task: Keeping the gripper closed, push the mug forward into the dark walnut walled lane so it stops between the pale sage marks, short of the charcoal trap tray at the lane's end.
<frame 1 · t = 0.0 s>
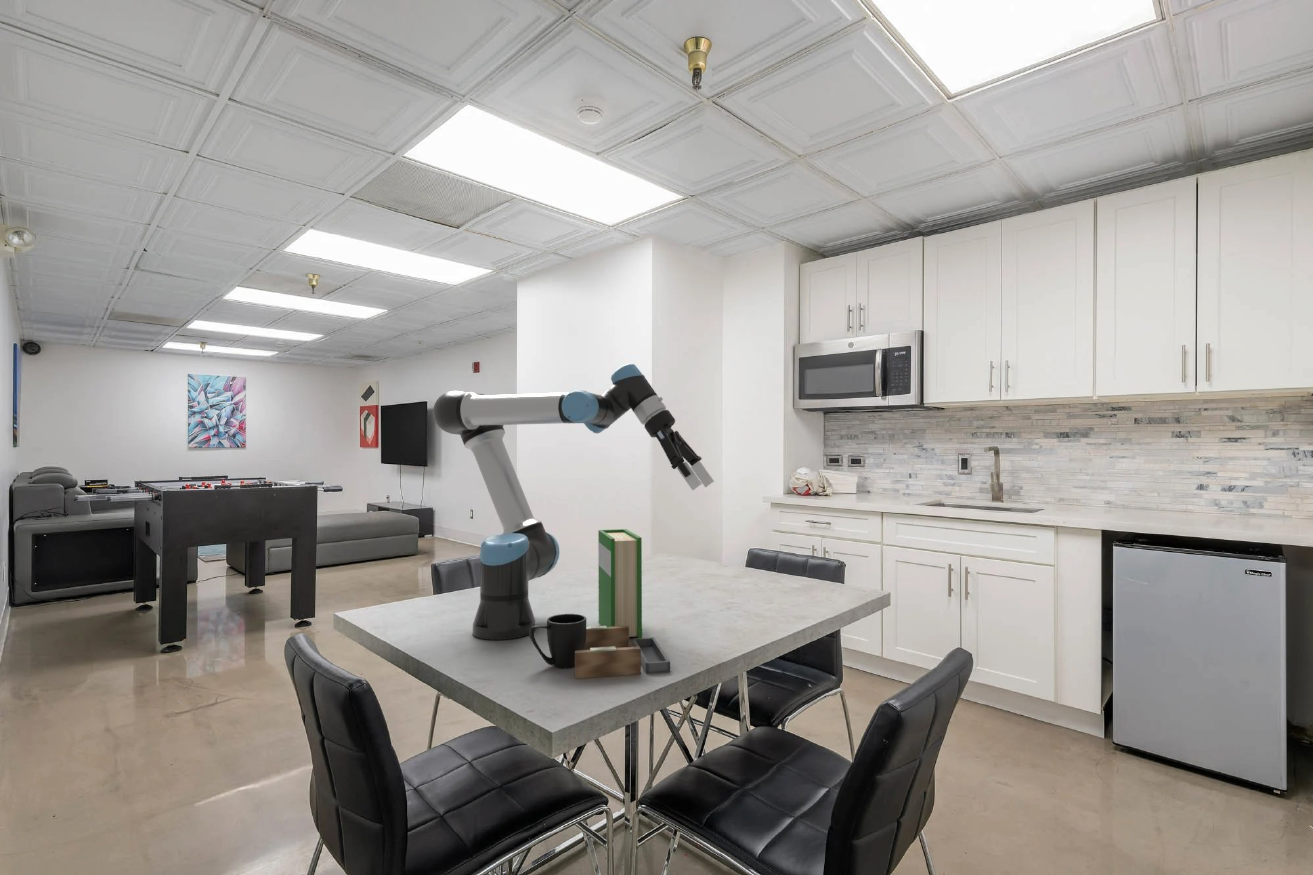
hand: (704, 485, 154), 36 cm above the table, tool tilted 35°, fingers open, 13 cm apart
trap tray: (650, 658, 133), on the table
hardback book: (619, 631, 155), on the table
lane walls: (603, 662, 131), on the table
mug: (558, 666, 130), on the table
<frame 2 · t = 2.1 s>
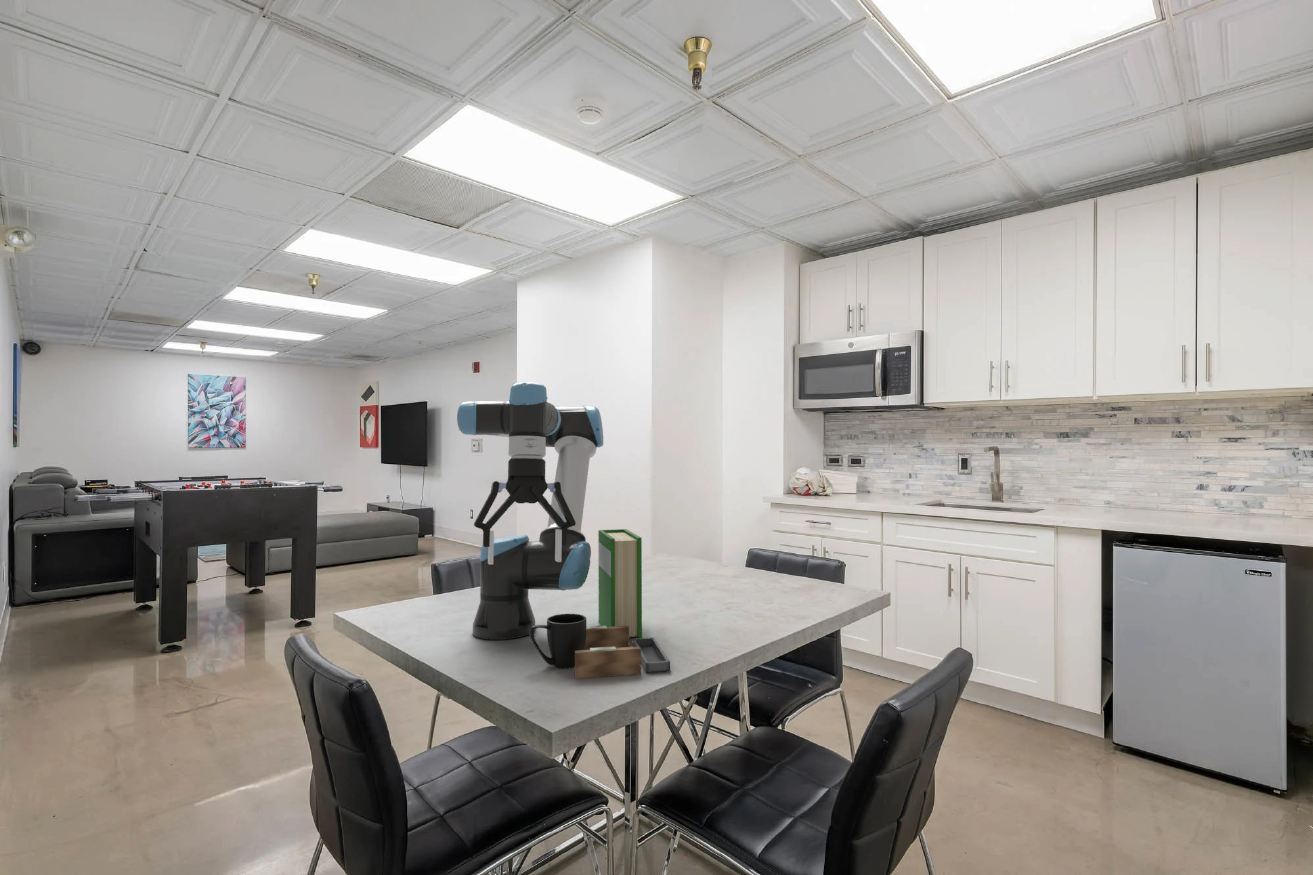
hand: (525, 562, 127), 22 cm above the table, tool pointing down, fingers open, 13 cm apart
nothing on the table moved.
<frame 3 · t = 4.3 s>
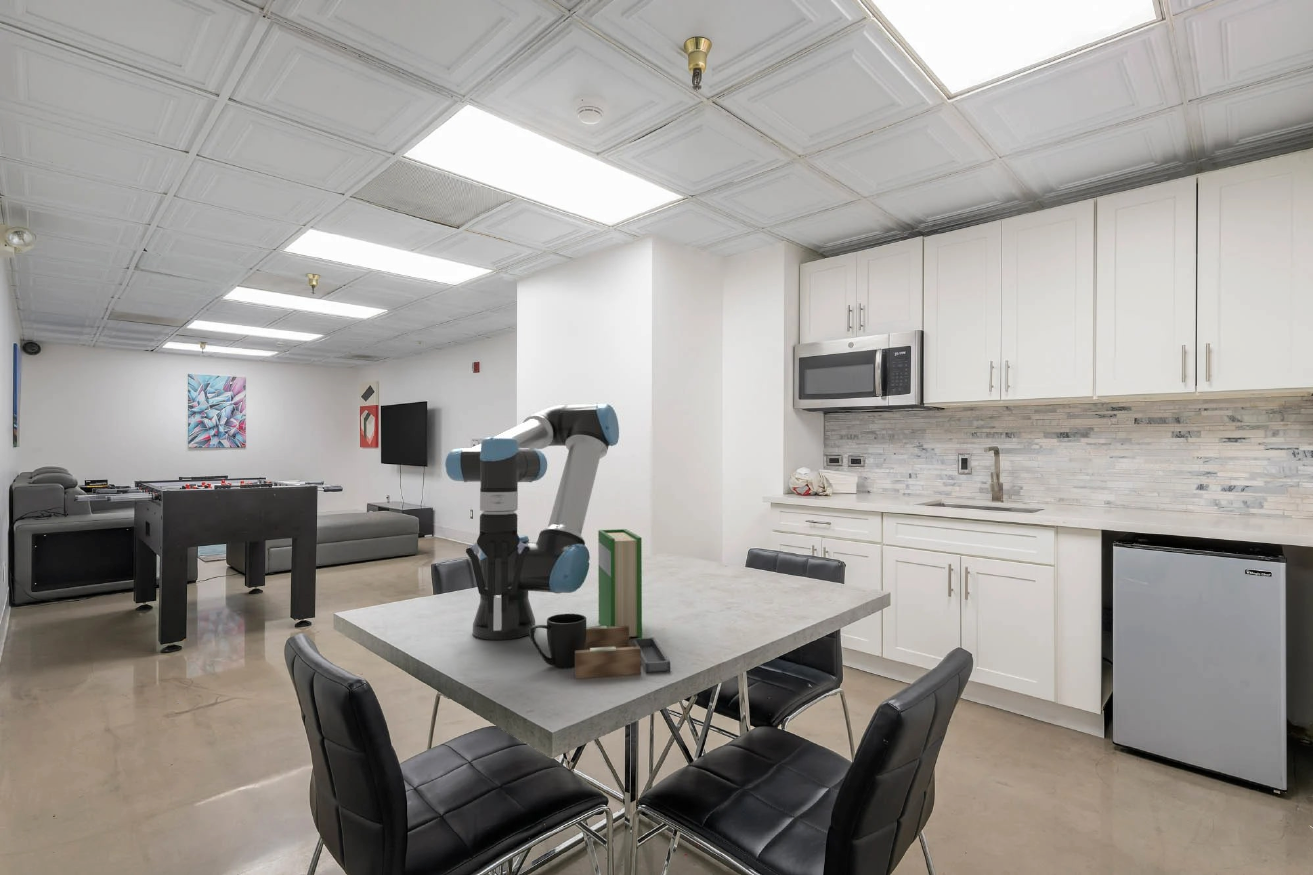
hand: (497, 628, 127), 8 cm above the table, tool pointing down, fingers closed
nothing on the table moved.
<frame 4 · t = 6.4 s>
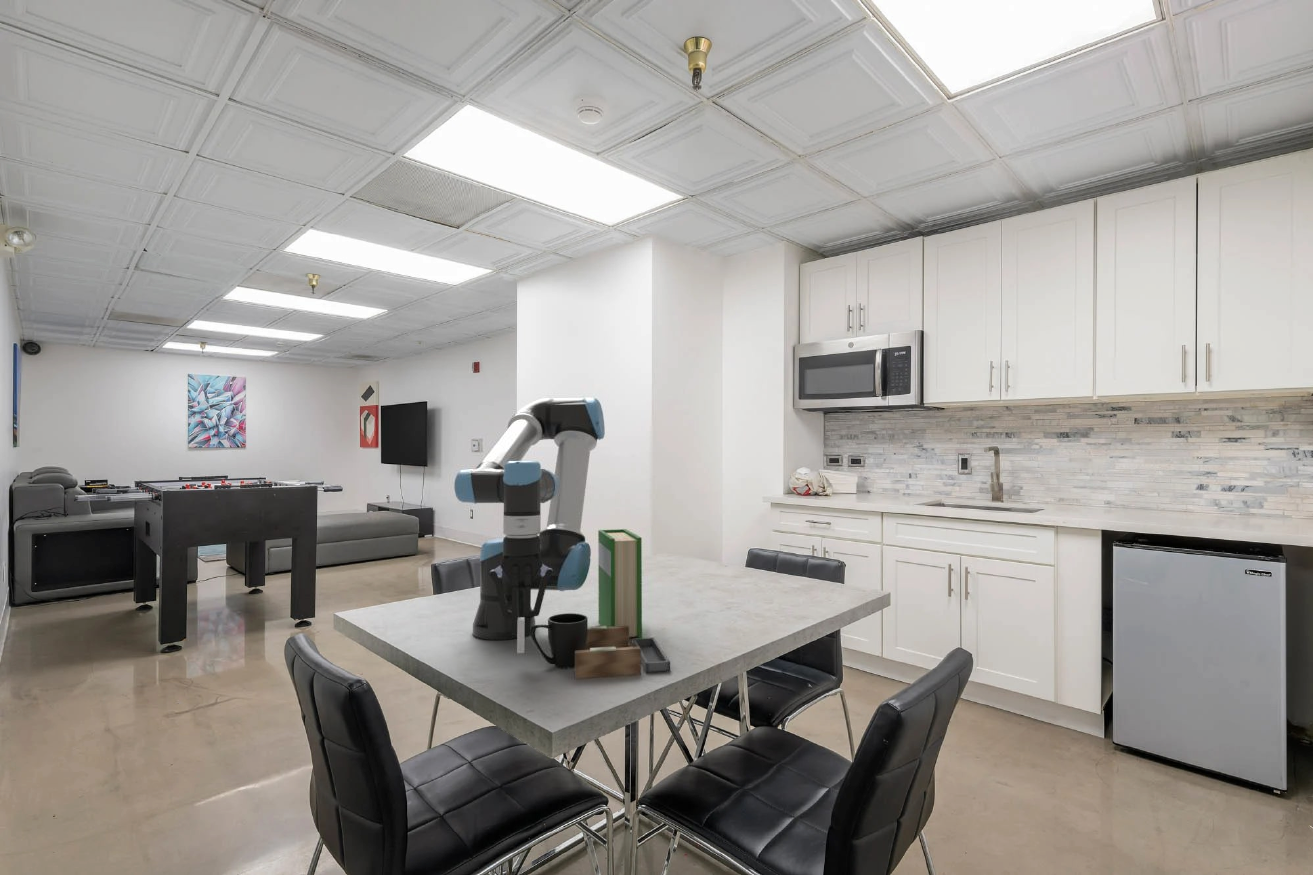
hand: (520, 650, 128), 4 cm above the table, tool pointing down, fingers closed
mug: (558, 666, 130), on the table, touching gripper
everything else where it was.
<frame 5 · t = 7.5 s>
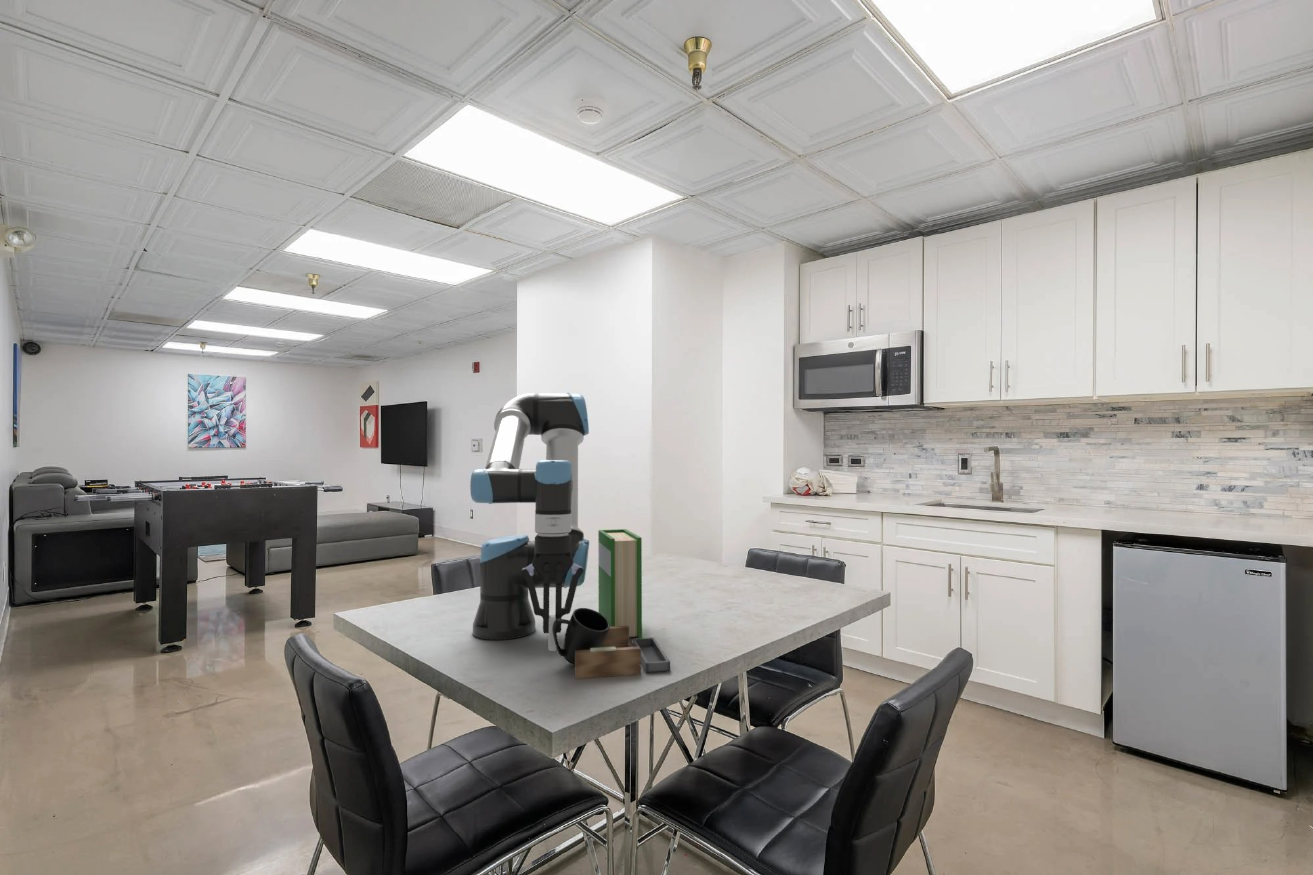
hand: (551, 648, 129), 4 cm above the table, tool pointing down, fingers closed
mug: (566, 658, 130), point 2 cm above the table, touching gripper
everything else where it was.
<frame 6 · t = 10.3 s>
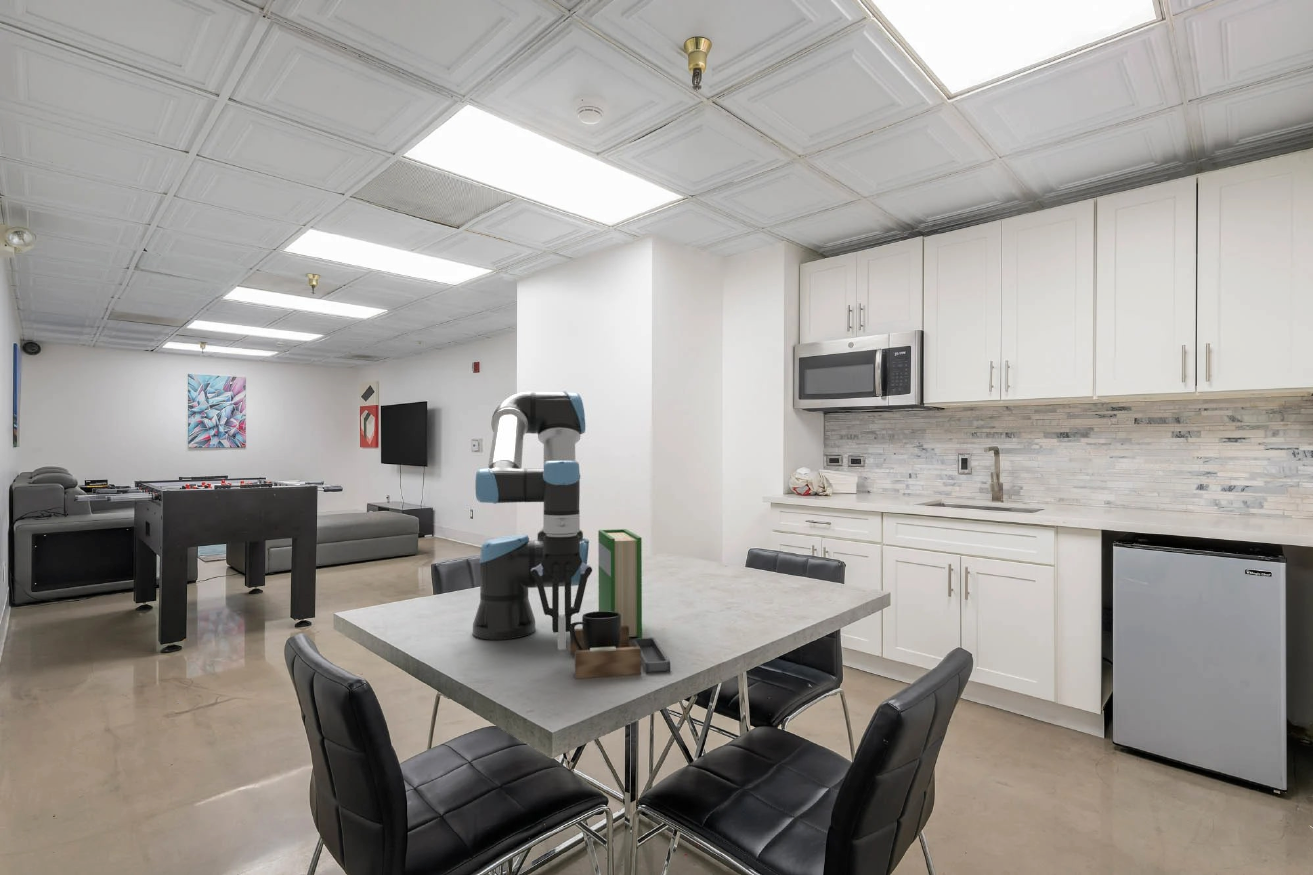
hand: (561, 647, 130), 4 cm above the table, tool pointing down, fingers closed
mug: (594, 663, 131), on the table
everything else where it was.
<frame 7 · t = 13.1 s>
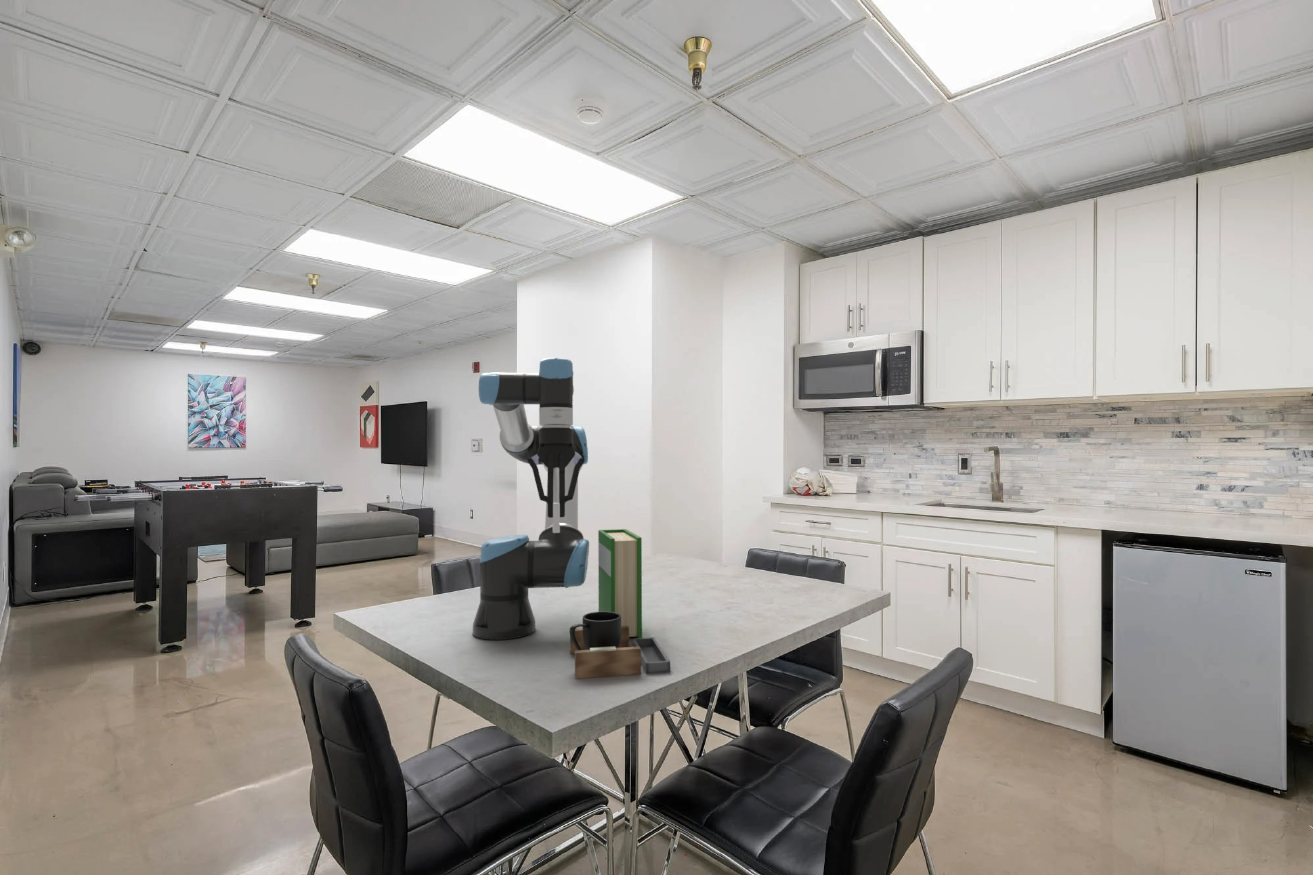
hand: (556, 532, 140), 26 cm above the table, tool pointing down, fingers closed
nothing on the table moved.
at the end: mug inside the target area (0.7 cm from its centre), on the table; mug touching table; mug tilted 0° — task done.
